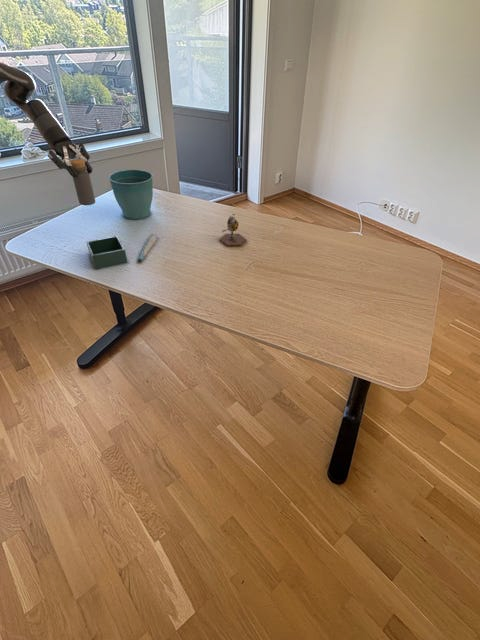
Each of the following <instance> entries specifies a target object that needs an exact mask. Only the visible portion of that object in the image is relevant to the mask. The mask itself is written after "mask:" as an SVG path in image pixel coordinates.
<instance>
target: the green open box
mask: <svg viewBox="0 0 480 640" xmlns="http://www.w3.org/2000/svg"><path fill="white" fill-rule="evenodd" d="M86 247H87V249H88V254H89V256H90V260H91V261H92V264H93V267H94V269H95V270H101V269H106V268H111V267H115V266H120V265H123V264H128V258H127V254H126V253H127V252H126V249H125V247H124V246H123V244H122V242H121V240H120V238H119V236H118V235H115V236H110V237H105V238H99V239H93V240H88V241H86Z"/></svg>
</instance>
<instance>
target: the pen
mask: <svg viewBox="0 0 480 640" xmlns="http://www.w3.org/2000/svg"><path fill="white" fill-rule="evenodd" d="M157 239H158V236H157V234H156V233H155V232H154V233H150V235H149V236H148V238H147V240H146V242H145V244H144V246H143V248H142V250H141V251H140V254H139V257H138V263H141V262H142V261H143V260H144V259H145V257H146V255H147V254H148V252H149V251H150V249H151V248H152V247H153V246H154V245H155V243H156V241H157Z"/></svg>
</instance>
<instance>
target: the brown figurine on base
mask: <svg viewBox="0 0 480 640" xmlns="http://www.w3.org/2000/svg"><path fill="white" fill-rule="evenodd" d="M235 216H236V214H234V213H232V215H230V216H229V217H228V220H227V222H226V224H227V225H226V226H227V229H222V231H221V232H222V233H224V232H226V231H228V232H230V233H225V234H224V235H223V236H222V237H220V238H219V242H220V243H222V244H223V245H224V246H226V247H242V245H244V243H246V241H247V239H246V238H245V237H244V236H242V234H240V233H234V232H237V230H238V229H239V223H240V222H239V221H238V220H237V219H236V217H235Z"/></svg>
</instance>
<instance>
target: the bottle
mask: <svg viewBox="0 0 480 640" xmlns="http://www.w3.org/2000/svg"><path fill="white" fill-rule="evenodd" d="M69 163H70V165H71V166H72V167H73V169H74V170H75V171H76V173H77V174H78V176H77V178H74V177H72V180H73V184H74V188H75V192H76V196H77V199H78V203H79V205H80V206H81V205H82V206H91V205H95V203H96V198H95V192H94V188H93V184H92V180H91V175H90V174H89V173H88V172H87V171H86V169H87V166H86V165H85V161H84V160H82V159H81V158H80V159H70V160H69Z"/></svg>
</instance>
